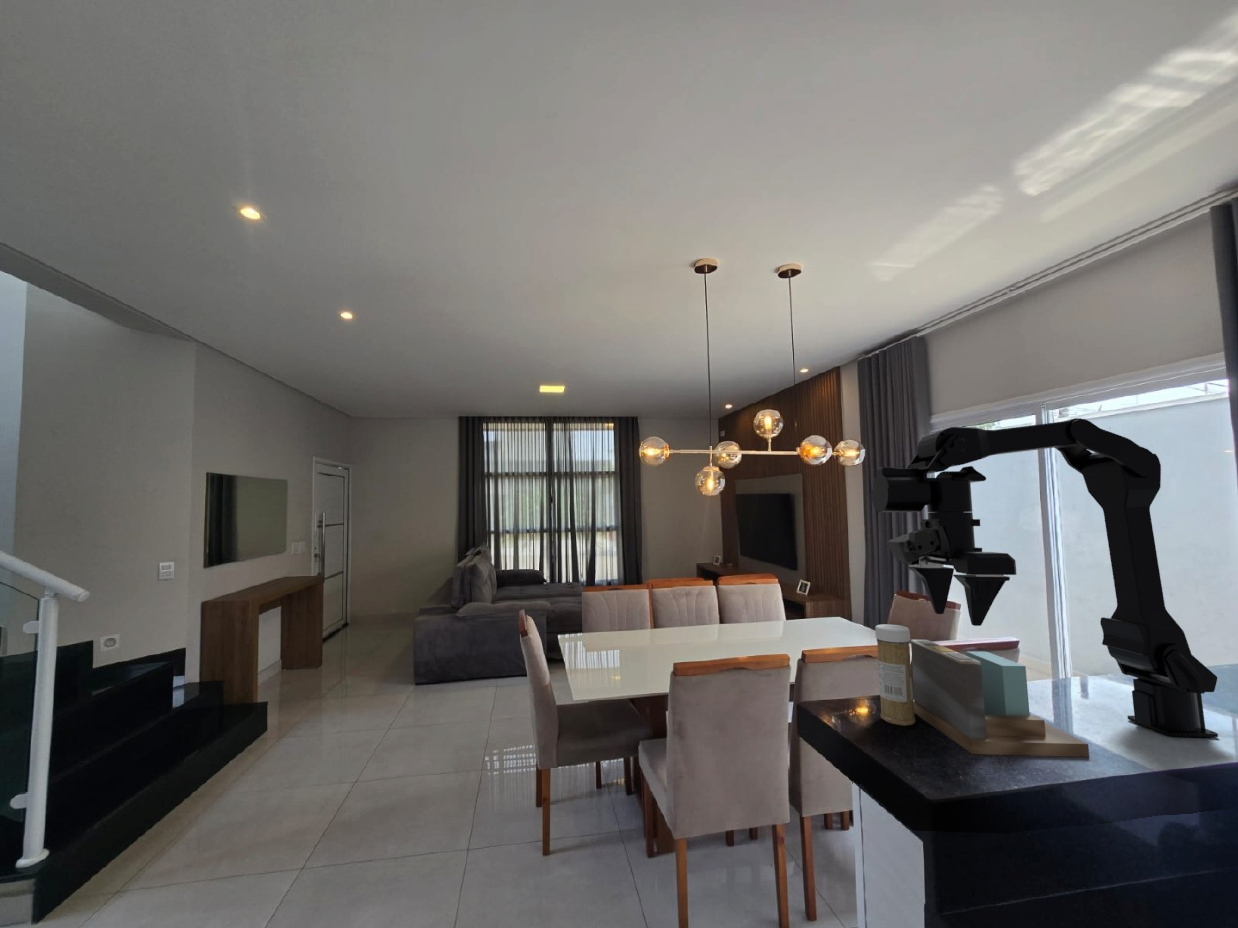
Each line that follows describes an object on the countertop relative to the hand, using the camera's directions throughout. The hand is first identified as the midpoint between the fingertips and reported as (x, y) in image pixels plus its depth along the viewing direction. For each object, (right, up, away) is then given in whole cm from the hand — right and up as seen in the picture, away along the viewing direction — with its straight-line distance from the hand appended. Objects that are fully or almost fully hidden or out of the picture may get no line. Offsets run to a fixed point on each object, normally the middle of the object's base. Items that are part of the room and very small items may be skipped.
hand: (956, 619), depth 77 cm
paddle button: (+4, -13, -4) cm, 14 cm away
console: (+2, -14, -4) cm, 15 cm away
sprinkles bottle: (-9, -15, 0) cm, 17 cm away
